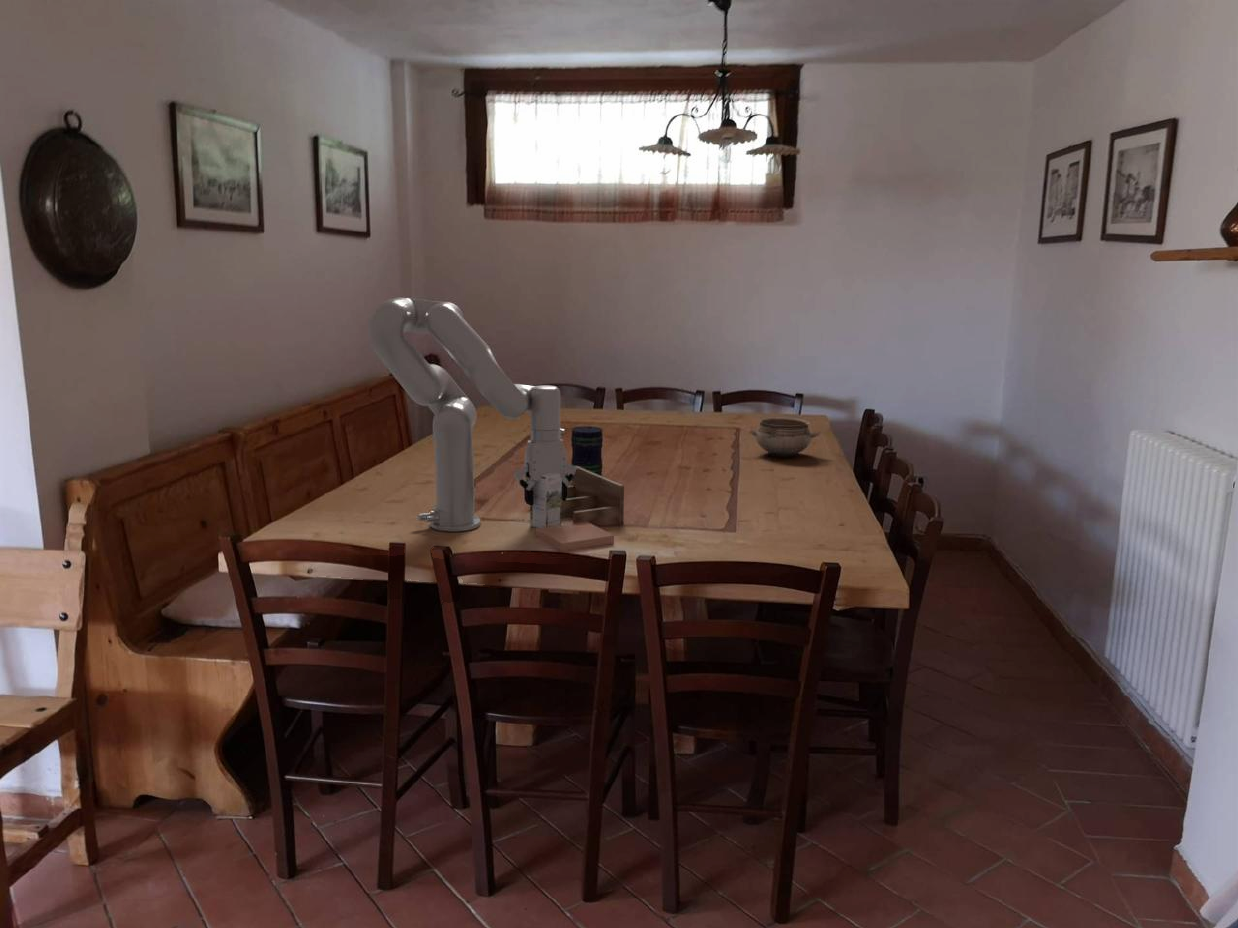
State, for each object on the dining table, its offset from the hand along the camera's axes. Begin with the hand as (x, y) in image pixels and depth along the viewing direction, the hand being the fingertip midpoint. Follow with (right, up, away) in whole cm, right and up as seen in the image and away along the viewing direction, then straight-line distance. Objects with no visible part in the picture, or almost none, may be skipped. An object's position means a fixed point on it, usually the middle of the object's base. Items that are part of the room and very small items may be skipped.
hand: (546, 501), depth 239 cm
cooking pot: (+76, +12, +92) cm, 120 cm away
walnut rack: (+7, -4, +13) cm, 15 cm away
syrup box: (0, -6, +1) cm, 7 cm away
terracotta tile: (+8, -9, -10) cm, 15 cm away
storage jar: (+8, +6, +56) cm, 57 cm away
